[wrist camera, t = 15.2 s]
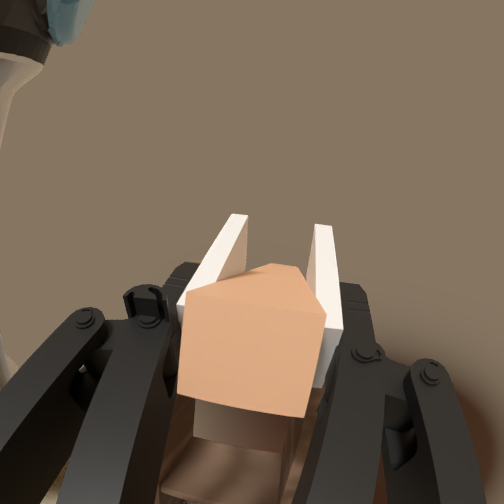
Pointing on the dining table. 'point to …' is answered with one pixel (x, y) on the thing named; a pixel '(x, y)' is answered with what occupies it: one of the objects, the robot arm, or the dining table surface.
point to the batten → (252, 341)
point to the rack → (231, 462)
